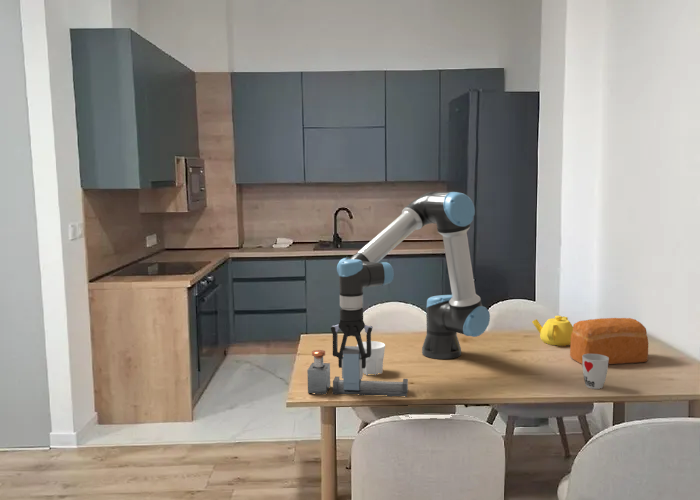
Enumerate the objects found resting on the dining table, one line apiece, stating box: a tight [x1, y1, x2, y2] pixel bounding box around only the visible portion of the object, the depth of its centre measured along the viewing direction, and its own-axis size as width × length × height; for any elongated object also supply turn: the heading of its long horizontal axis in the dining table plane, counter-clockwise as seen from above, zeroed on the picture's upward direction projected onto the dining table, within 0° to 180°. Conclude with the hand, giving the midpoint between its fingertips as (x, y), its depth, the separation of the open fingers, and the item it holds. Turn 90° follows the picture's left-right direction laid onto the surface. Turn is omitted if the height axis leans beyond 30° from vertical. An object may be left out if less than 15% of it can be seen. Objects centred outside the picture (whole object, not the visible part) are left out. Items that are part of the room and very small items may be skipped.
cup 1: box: [356, 340, 386, 376], centre depth 231 cm, size 10×10×10 cm
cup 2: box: [582, 354, 609, 390], centre depth 213 cm, size 8×8×10 cm
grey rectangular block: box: [342, 345, 362, 390], centre depth 211 cm, size 5×6×13 cm
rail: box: [331, 376, 409, 398], centre depth 211 cm, size 24×7×4 cm, turn 82°
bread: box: [569, 317, 649, 365], centre depth 242 cm, size 14×26×16 cm, turn 99°
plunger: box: [311, 349, 326, 368], centre depth 212 cm, size 4×4×9 cm
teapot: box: [531, 315, 573, 347], centre depth 268 cm, size 20×18×11 cm
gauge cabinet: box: [307, 362, 331, 395], centre depth 213 cm, size 6×8×8 cm
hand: (352, 377), depth 211 cm, fingers closed on grey rectangular block, 5 cm apart
